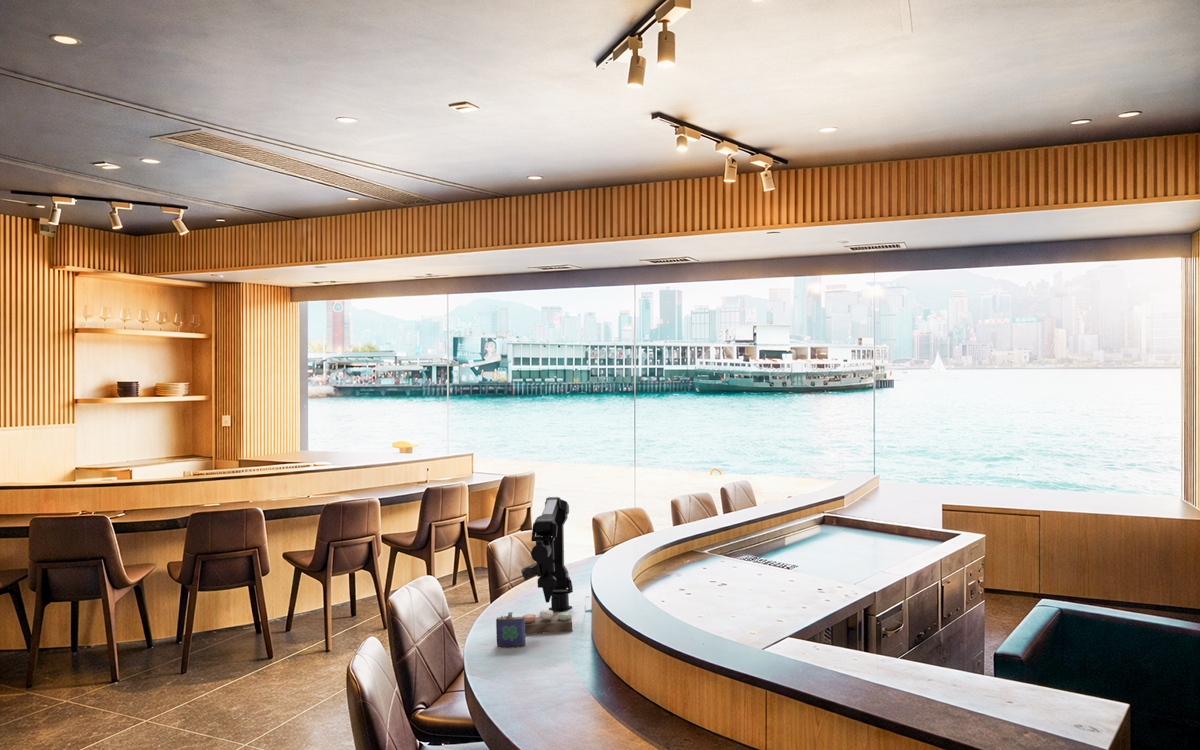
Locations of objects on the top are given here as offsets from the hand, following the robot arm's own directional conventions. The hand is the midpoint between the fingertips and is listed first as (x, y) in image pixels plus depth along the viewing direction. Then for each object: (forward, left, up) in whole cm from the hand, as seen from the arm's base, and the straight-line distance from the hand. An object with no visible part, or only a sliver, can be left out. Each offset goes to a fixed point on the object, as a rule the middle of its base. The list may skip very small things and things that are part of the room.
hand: (547, 602), depth 245 cm
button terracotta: (+4, -5, -6) cm, 9 cm away
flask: (+19, +1, -9) cm, 21 cm away
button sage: (-4, +4, -6) cm, 8 cm away
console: (0, 0, -9) cm, 9 cm away
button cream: (0, 0, -5) cm, 5 cm away
